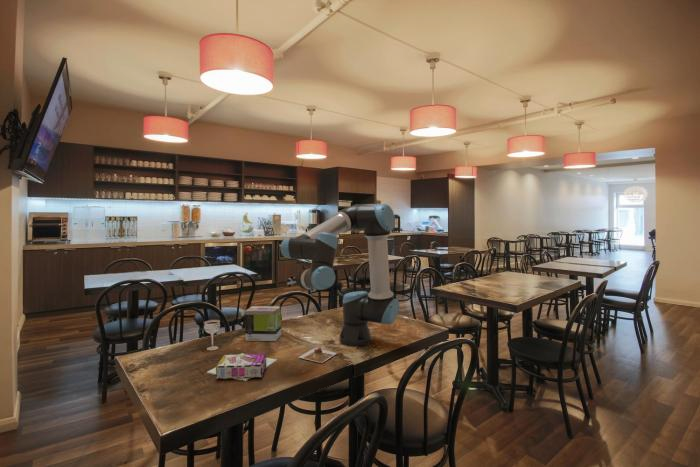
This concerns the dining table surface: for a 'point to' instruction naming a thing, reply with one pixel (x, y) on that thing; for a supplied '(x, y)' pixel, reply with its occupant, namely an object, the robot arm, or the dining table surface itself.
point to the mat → (268, 362)
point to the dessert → (317, 354)
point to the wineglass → (212, 330)
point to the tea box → (263, 323)
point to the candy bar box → (241, 366)
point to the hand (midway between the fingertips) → (290, 281)
